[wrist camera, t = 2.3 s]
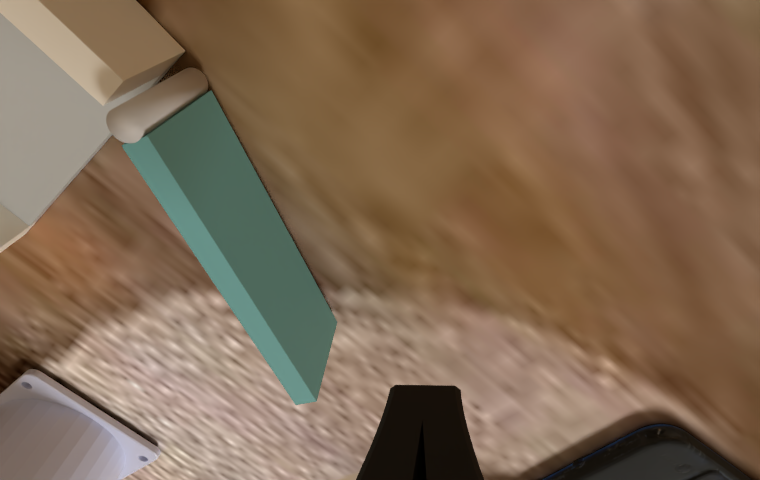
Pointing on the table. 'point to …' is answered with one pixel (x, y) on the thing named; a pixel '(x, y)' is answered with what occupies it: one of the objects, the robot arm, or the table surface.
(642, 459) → the handheld game console
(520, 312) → the table surface
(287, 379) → the gate
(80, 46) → the bay
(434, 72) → the table surface
